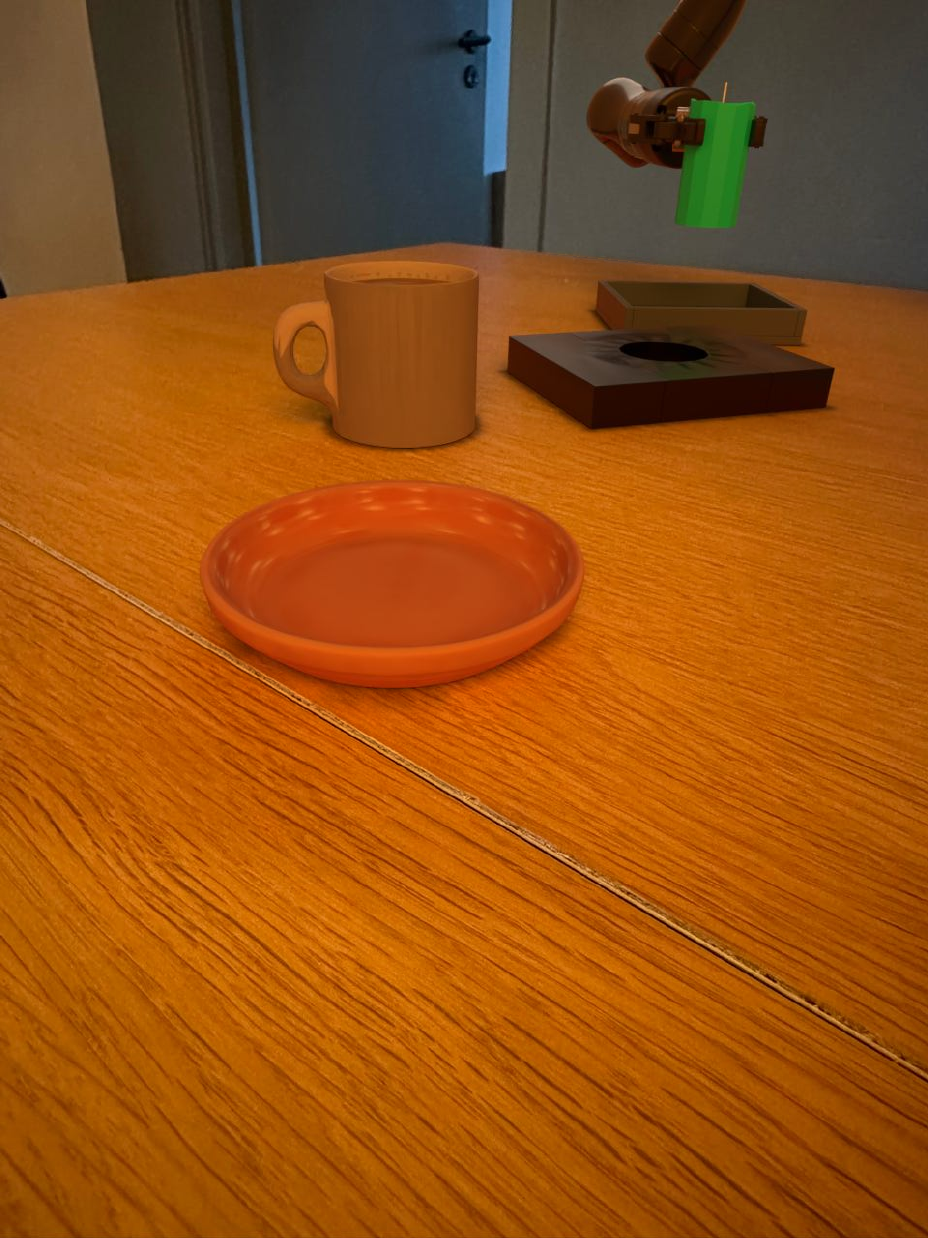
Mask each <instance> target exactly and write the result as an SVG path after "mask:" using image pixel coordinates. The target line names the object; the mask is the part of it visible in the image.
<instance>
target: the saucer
mask: <svg viewBox="0 0 928 1238" xmlns="http://www.w3.org/2000/svg"><path fill="white" fill-rule="evenodd" d="M585 571H586V570H585V559H584V556H583V553H582V550H581V548H580V546H579V544H578V542H577V541H576V539H575V538H574V537H573V535H572V534H571V533H570V532H569V531H568V530H567V529H566V528H565V527H564V526H563V525H562V524H560V523H559V522H558V521H556V520H555V518H552V517H551V516H549V515H548V514H546V513H544V512H543V511H541V510H539V509H537V508H536V507H533V506H532V505H530V504H529V503H528V504H527V503H525V502H523V501H521V500H518V499H515V498H513V497H510V496H507V495H505V494H502V493H498V492H494V491H491V490H488V489H483V488H479V487H475V486H470V485H465V484H458V483H452V482H445V481H436V480H435V481H434V480H421V479H401V478H400V479H374V480H373V479H372V480H360V481H349V482H341V483H335V484H329V485H324V486H319V487H314V488H308V489H305V490H301V491H298V492H294V493H291V494H287V495H284V496H281V497H278V498H276V499H272V500H270V501H267V502H265V503H263V504H261V505H258V506H256V507H254V508H252V509H250V510H249V511H247V512H245V513H243V514H241V515H240V516H238V517H237V518H235V519H234V520H232V521H231V522H229V523H228V524H227V525H225V526H224V527H223V528H222V529H221V530H219V531H218V533H217V534H215V536H214V537H213V538H212V539H211V541H209V543H208V545H207V546H206V548H205V550H204V552H203V555H202V557H201V559H200V567H199V580H200V585H201V587H202V591H203V593H204V596H205V599H206V601H207V604H208V606H209V609H210V611H211V613H212V614H213V616H214V617H215V618H216V620H217V621H218V622H219V623H220V625H222V627H224V628H225V629H226V630H227V632H228V633H230V634H232V635H233V636H234V637H235V638H237V639H238V640H240V641H241V642H242V643H244V644H246V645H248V646H250V647H251V648H252V649H254V650H255V651H257V652H259V653H260V654H262V655H264V656H266V657H268V658H270V659H272V660H274V661H276V662H278V663H281V664H284V665H286V666H287V667H289V668H292V669H293V670H296V671H298V672H300V673H303V674H305V675H309V676H311V677H313V678H314V677H315V678H317V679H321V680H325V681H328V682H333V683H337V684H343V685H349V686H355V687H363V688H377V689H407V688H408V689H409V688H421V687H429V686H436V685H442V684H447V683H451V682H456V681H461V680H464V679H467V678H470V677H474V676H477V675H480V674H483V673H484V672H487V671H489V670H492V669H494V668H497V667H498V666H500V665H502V664H504V663H506V662H507V661H509V660H511V659H513V658H515V657H518V656H519V655H521V654H523V653H525V652H526V651H528V650H530V649H531V648H533V647H534V646H536V645H538V644H539V643H540V642H541V641H543V640H544V639H545V638H547V637H548V636H549V635H551V634H552V633H554V632H555V631H556V630H558V628H559V627H560V626H562V624H563V623H564V622H565V621H566V620H567V619H568V617H570V615H571V613H572V612H573V611H574V609H575V607H576V606H577V603H578V600H579V598H580V594H581V592H582V587H583V584H584V578H585Z"/></svg>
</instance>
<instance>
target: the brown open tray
mask: <svg viewBox="0 0 928 1238" xmlns="http://www.w3.org/2000/svg"><path fill="white" fill-rule="evenodd" d="M596 291H597V292H596V301H595V302H596V303H595V312H596V314H597V316H599V317H600V318H601V319H602V321H603V322H604V323H605V324H606V325H607V327H608V328H609V330H622V329H640V328H658V327H677V326H695V325H712V324H716V325H718V326H721V327H724V328H727V329H729V330H732V331H735V332H738V333H740V334H743V335H746V336H749V337H751V338H754V339H757V340H759V341H762V342H765V343H768V344H770V345H773V346H800V345H801V344H802V337H803V333H804V329H805V324H806V319H807V315H808V310H807V309H806V308H804V307H802V306H800V305H798V304H796V303H795V302H793V301H790V300H789V299H787V298H784V297H783V296H781V295H779V294H777V293H775V292H773V291H771V290H770V289H767V288H766V287H764V286H761V285H759V284H758V283H756V282H738V281H737V282H736V281H735V282H733V281H732V282H730V281H676V280H675V281H673V280H672V281H668V280H607V279H606V280H603V279H599V280H598V281H597V290H596Z"/></svg>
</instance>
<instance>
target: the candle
mask: <svg viewBox="0 0 928 1238" xmlns="http://www.w3.org/2000/svg"><path fill="white" fill-rule="evenodd" d="M727 87H728V82H726V81H725V84H724V90H723V97H722V101H718V100H717V101H716V100H712V101H707V100H699V101H697V100H696V99H691V105H690V112H689V118H700V119H705V120H706V126H705V133H704V140H703V144H702V146H691V145H685V149H684V157H683V164H682V169H681V173H680V179H679V186H678V187H679V188H678V195H677V202H676V208H675V209H676V210H675V217H674V218H675V219H674V223H675V224H676V225H680V226H685V227H692V228H693V227H694V228H704V229H705V228H707V229H708V228H709V229H725V228H728V229H729V228H735V227H737V222H738V216H739V211H740V204H741V199H742V198H741V197H742V191H743V186H744V181H745V180H744V179H745V174H746V168H747V162H748V156H749V150H750V147H748V143H749V137H750V131H751V125H752V120H754V116H756V110H757V109H756V108H757V105H756V104H755V103H756V102H754V101H749V102H726V103H725V100H726V93H727Z"/></svg>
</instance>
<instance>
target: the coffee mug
mask: <svg viewBox="0 0 928 1238" xmlns="http://www.w3.org/2000/svg"><path fill="white" fill-rule="evenodd" d="M323 286H324V296H325V297H324V299H320V300H316V301H308V302H301V303H297V304H293V305H291V306H289V307H288V308H285V310H284V311H283V312H281V314H280V316H279V317H278V318H277V320H276V322H275V326H274V329H273V335H272V352H273V353H272V354H273V359H274V363H275V367H276V371H277V373H278V375H279V378H280V379H281V381H282V382H283V384H284V385H285V386H286V387H287V388H288V390H290V391H292V392H293V393H295V394H297V395H299V396H301V397H304V398H307V399H310V400H313V401H317V402H319V403H321V404H322V405H324V406H325V407H326V408H327V409H328V411H329V412H330V413H331V416H332V417H331V418H332V429H333V430H334V432H335V433H336V434H337V435H339V436H340V437H341V438H343V439H346V440H348V441H350V442H354V443H357V444H360V445H361V444H362V445H367V446H372V447H379V448H389V449H418V448H428V447H437V446H442V445H446V444H450V443H454V442H457V441H460V440H462V439H465V438H467V437H468V436H469V435H470V434H472V433H473V432H474V430H475V428H476V410H477V408H476V407H477V376H478V375H477V371H478V334H479V301H480V300H479V299H480V298H479V296H480V274H479V272H477V271H476V270H475V269H473V268H469V267H466V266H462V265H457V264H452V263H443V262H433V261H416V260H415V261H414V260H379V261H378V260H376V261H361V262H351V263H344V264H339V265H335V266H332V267H329V268H327V269H325V270H324V272H323ZM308 327H309V328H313V327H314V328H316V329H318V330H320V333H322V336H323V339H324V344H325V357H324V362H323V364H322V366H321V369H320V370H318V371H317V372H316V373H313V374H305V373H303V372H302V371H301V370H300V369H299V368H298V365H297V364H296V361H295V358H294V344H295V341H296V337H297V335H298V334H299V333H300V331H301V330H303V329H305V328H308Z"/></svg>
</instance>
